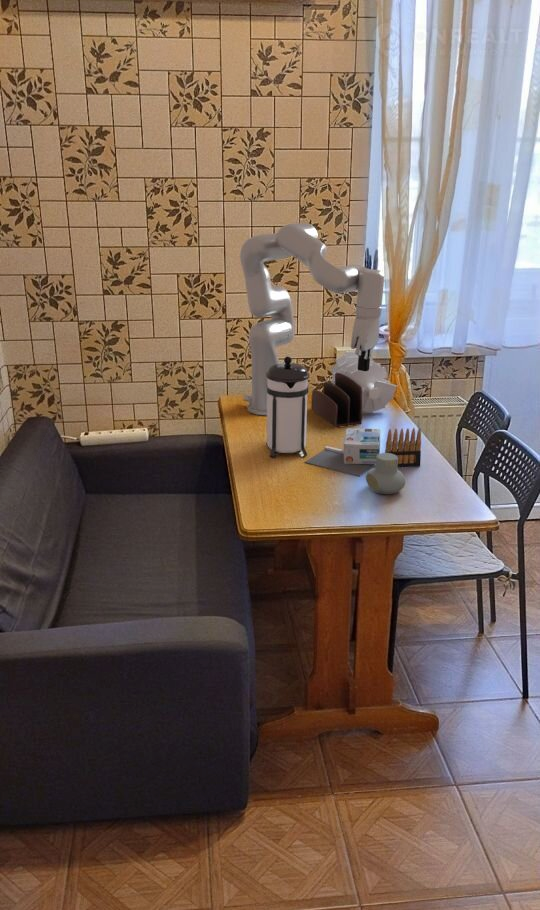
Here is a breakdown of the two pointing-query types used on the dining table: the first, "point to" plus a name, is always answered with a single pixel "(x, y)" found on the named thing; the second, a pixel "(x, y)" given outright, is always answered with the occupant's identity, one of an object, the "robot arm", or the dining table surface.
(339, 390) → the letter holder
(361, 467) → the mat
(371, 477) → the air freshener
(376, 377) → the spiral staircase
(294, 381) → the coffee press
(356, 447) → the light bulb box
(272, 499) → the dining table surface
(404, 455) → the ammunition clip
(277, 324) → the robot arm
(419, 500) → the dining table surface
